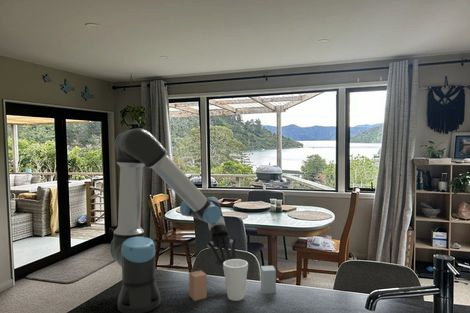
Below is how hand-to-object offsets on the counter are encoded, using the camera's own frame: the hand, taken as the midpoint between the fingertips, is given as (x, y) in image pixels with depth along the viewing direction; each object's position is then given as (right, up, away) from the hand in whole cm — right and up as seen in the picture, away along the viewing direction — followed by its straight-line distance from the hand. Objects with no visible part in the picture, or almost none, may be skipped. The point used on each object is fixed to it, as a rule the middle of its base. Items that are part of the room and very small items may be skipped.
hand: (231, 279), depth 130 cm
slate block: (+15, -4, 0) cm, 15 cm away
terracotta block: (-13, -5, -5) cm, 14 cm away
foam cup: (+2, -5, -6) cm, 8 cm away
